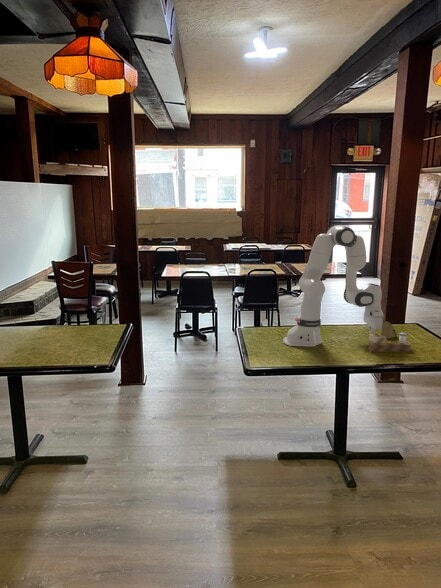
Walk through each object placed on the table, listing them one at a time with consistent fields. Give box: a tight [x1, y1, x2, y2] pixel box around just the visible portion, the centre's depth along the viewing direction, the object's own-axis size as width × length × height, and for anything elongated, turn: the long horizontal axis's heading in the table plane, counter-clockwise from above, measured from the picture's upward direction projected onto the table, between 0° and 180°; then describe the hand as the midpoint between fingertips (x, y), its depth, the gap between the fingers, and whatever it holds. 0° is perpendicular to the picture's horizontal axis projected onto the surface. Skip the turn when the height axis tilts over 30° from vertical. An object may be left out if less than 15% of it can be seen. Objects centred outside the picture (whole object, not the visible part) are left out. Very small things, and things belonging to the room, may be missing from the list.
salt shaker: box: [398, 331, 408, 343], centre depth 244 cm, size 4×4×8 cm
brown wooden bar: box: [368, 342, 412, 353], centre depth 238 cm, size 22×3×4 cm, turn 92°
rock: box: [380, 320, 398, 340], centre depth 261 cm, size 11×9×10 cm
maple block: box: [368, 333, 387, 344], centre depth 250 cm, size 6×8×5 cm
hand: (371, 333), depth 259 cm, fingers closed
